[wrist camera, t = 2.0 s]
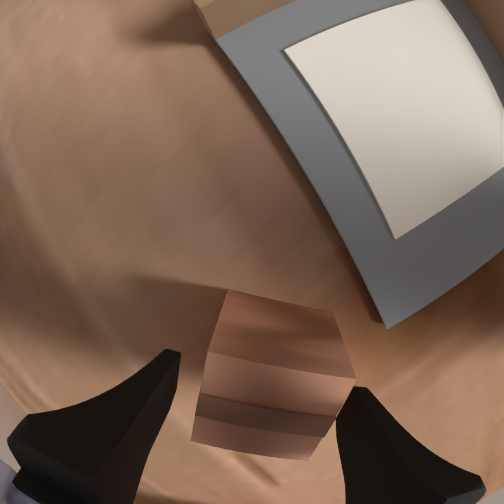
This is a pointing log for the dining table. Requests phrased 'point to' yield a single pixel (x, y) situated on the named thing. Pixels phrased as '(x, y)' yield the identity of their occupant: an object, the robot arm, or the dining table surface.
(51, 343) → the dining table surface
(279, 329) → the block
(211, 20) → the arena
